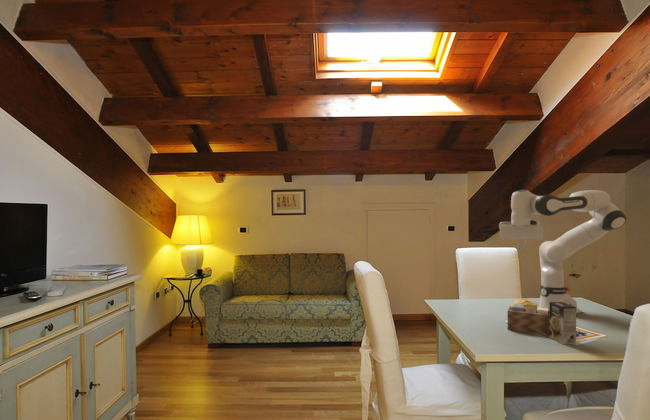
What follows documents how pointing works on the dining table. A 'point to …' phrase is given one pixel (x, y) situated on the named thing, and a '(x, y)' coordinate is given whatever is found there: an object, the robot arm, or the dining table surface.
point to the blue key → (518, 308)
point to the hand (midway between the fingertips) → (521, 248)
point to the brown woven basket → (528, 321)
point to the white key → (542, 310)
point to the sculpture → (525, 303)
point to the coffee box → (562, 322)
